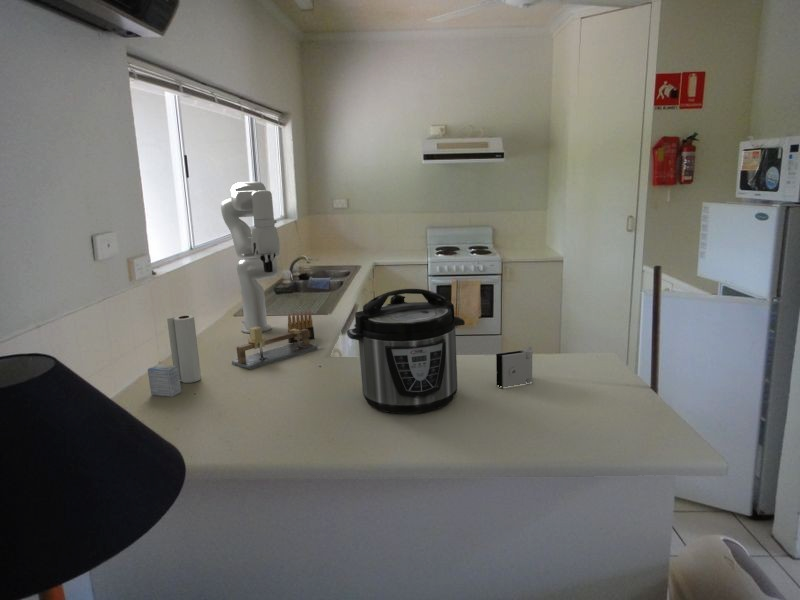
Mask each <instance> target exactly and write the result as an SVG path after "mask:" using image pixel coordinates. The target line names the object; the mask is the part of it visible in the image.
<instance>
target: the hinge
mask: <svg viewBox="0 0 800 600" xmlns="http://www.w3.org/2000/svg"><path fill="white" fill-rule="evenodd" d="M495 356H496V357H495V359H496V360H495V361H496V362H495V363H496V364H495V367H496V370H495V371H496V386H497V385H499V387H500V386H502V387H508V386H514V385H520V384H526V382H527V383H530V382H532V383H533V350H532V346H531V345H528V346H527V347H525V348H524V349H518V350H511V351H503V352H497V353H496V355H495ZM526 385H527V384H526ZM499 387H498V388H499Z"/></svg>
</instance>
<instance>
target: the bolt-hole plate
mask: <svg viewBox="0 0 800 600" xmlns="http://www.w3.org/2000/svg"><path fill="white" fill-rule="evenodd" d="M300 345H301V348H298V342H296V343H292V344H290V343H288V344H286V345H282V346H279V347H276V348H273V349H269V350H266V351H265V350H264V351H263V358H262V359H261V358H260V352H258V353H255V354H250V355H246V362H245V363H242V364H241V363H238V358H237V359H233V360H231V363H232V364H231V365H234V366H237V367H241V368H244V369H246V370H249V371H250V370H254V369H256V368H260V367H262V366H266V365H269V364H273V363H276V362H280V361H283V360H286V359H289V358H292V357H295V356H299V355H303V354H305V353H309V352H313V351H316V350H318V349H319V347H318V345H316V344H315V345H314V344H311V343H309V344H307V345H303V344H302V341H301V342H300Z"/></svg>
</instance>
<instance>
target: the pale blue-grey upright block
mask: <svg viewBox="0 0 800 600" xmlns="http://www.w3.org/2000/svg"><path fill="white" fill-rule="evenodd" d="M147 374H148V381H149V389H150V395H151V396H159V397H167V398H168V397H170V398H171V397H175V396H176V395H179V394H180V393H181V392H182V388H181V380H179V373H178V366H173V364H171V365H169V364H155V365H153V366H151V367H149V368H147Z"/></svg>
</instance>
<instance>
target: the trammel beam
mask: <svg viewBox="0 0 800 600" xmlns="http://www.w3.org/2000/svg"><path fill="white" fill-rule="evenodd" d="M300 336H301V339H302V341H301V342H302V344H303V345H307V344H310V340H309V334H308V329H301V330H298V329H292V330H290V333H288V332H287V333H283V334H280V335H279V334H278V335H276V336H275V335H274V336H272V337H268V338H264V339H265V342H264V344H265V346H267V345H272V344H274V343H275V344H276V343H278V342H282V341H286V340H288V339H290V338H293V337H297V342H298V348H301V345H300ZM253 349H254V343H249V344H248V343H246V344H242V345H238V346H236V357H237V359H238V363H241V364H242V363H245V362H246V357H247V355H246V351H249V350H253Z"/></svg>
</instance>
